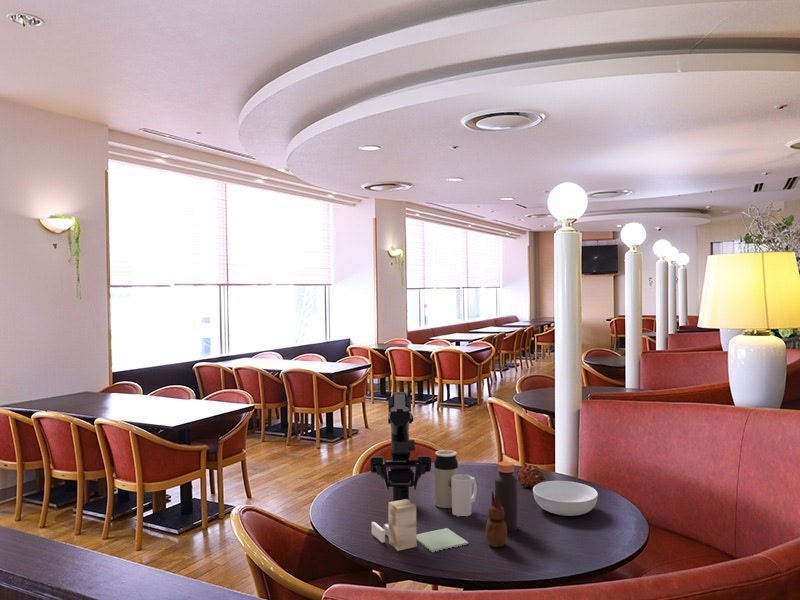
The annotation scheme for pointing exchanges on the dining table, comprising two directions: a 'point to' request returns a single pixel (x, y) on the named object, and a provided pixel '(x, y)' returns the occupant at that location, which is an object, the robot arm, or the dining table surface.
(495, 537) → the wooden figurine
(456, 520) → the dining table surface
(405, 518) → the block
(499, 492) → the bottle
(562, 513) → the serving bowl
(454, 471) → the travel mug
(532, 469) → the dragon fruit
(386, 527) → the bar
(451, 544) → the mat
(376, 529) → the channel
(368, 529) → the dining table surface
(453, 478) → the mug
